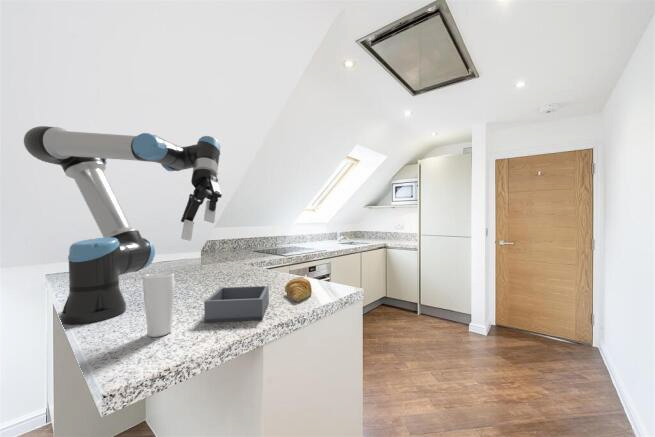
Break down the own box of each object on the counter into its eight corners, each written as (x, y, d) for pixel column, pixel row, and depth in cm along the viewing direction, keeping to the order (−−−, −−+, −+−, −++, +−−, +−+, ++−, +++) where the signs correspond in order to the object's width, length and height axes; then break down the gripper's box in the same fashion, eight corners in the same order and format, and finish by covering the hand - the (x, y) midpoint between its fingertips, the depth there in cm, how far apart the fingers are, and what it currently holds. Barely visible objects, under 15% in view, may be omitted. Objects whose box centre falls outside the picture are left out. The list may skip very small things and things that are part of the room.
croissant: (304, 313, 94) (315, 293, 94) (278, 300, 93) (289, 279, 93) (307, 295, 115) (315, 278, 115) (285, 284, 115) (294, 267, 114)
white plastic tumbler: (137, 338, 67) (136, 277, 67) (158, 327, 74) (157, 272, 74) (161, 340, 66) (160, 278, 66) (180, 328, 73) (180, 272, 73)
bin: (204, 322, 77) (204, 301, 77) (220, 305, 93) (220, 287, 93) (262, 320, 78) (262, 299, 78) (268, 303, 94) (268, 285, 94)
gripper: (236, 160, 87) (232, 217, 76) (197, 196, 100) (189, 248, 89) (214, 149, 82) (206, 207, 71) (176, 188, 95) (165, 242, 84)
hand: (197, 230), depth 80 cm, fingers open, 13 cm apart
